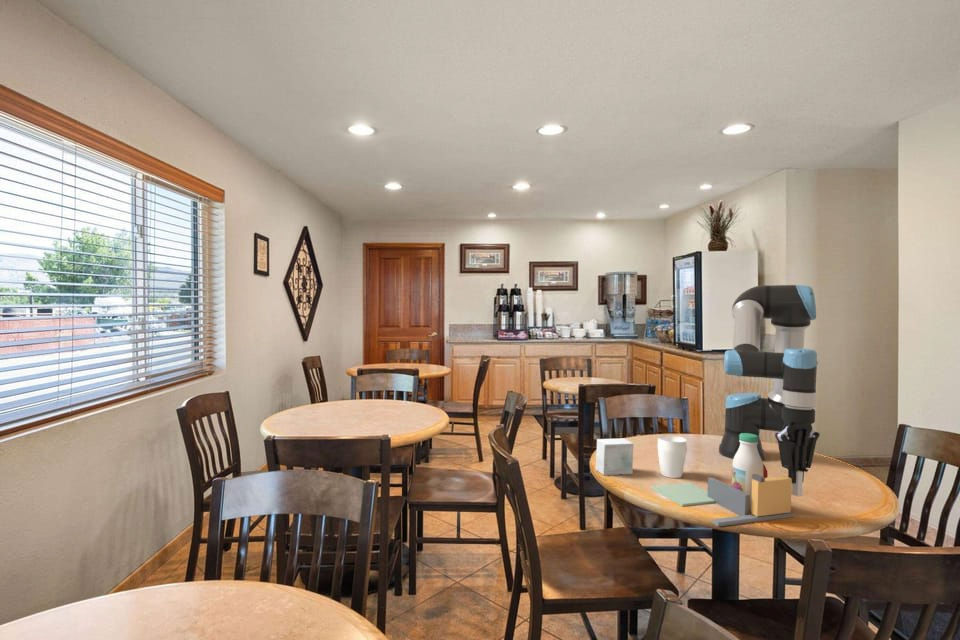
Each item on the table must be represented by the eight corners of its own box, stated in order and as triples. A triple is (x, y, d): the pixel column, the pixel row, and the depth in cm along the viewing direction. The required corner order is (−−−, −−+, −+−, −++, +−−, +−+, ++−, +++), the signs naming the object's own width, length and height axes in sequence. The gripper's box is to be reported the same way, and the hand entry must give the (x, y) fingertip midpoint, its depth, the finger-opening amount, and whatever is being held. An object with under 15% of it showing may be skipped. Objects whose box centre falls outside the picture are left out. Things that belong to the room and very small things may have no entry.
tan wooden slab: (782, 508, 133) (784, 471, 132) (791, 512, 130) (793, 474, 130) (749, 512, 130) (751, 474, 129) (758, 517, 127) (759, 477, 127)
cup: (688, 480, 157) (689, 443, 157) (658, 478, 159) (659, 441, 159) (682, 471, 166) (683, 436, 166) (654, 469, 168) (655, 434, 167)
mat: (689, 484, 154) (690, 482, 154) (723, 501, 140) (723, 499, 140) (651, 488, 150) (651, 486, 150) (682, 506, 136) (682, 504, 136)
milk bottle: (759, 502, 140) (761, 432, 139) (765, 513, 133) (767, 439, 132) (729, 498, 142) (731, 430, 142) (733, 509, 135) (735, 436, 135)
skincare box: (603, 476, 160) (604, 444, 160) (595, 469, 166) (596, 438, 166) (633, 474, 162) (634, 442, 162) (623, 468, 169) (624, 437, 168)
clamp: (746, 494, 146) (747, 474, 146) (794, 516, 131) (795, 494, 131) (675, 502, 139) (676, 481, 139) (717, 526, 124) (718, 502, 124)
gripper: (804, 403, 137) (801, 487, 137) (767, 404, 133) (764, 491, 134) (830, 408, 130) (827, 497, 130) (791, 410, 126) (788, 502, 126)
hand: (795, 494), depth 132 cm, fingers closed
